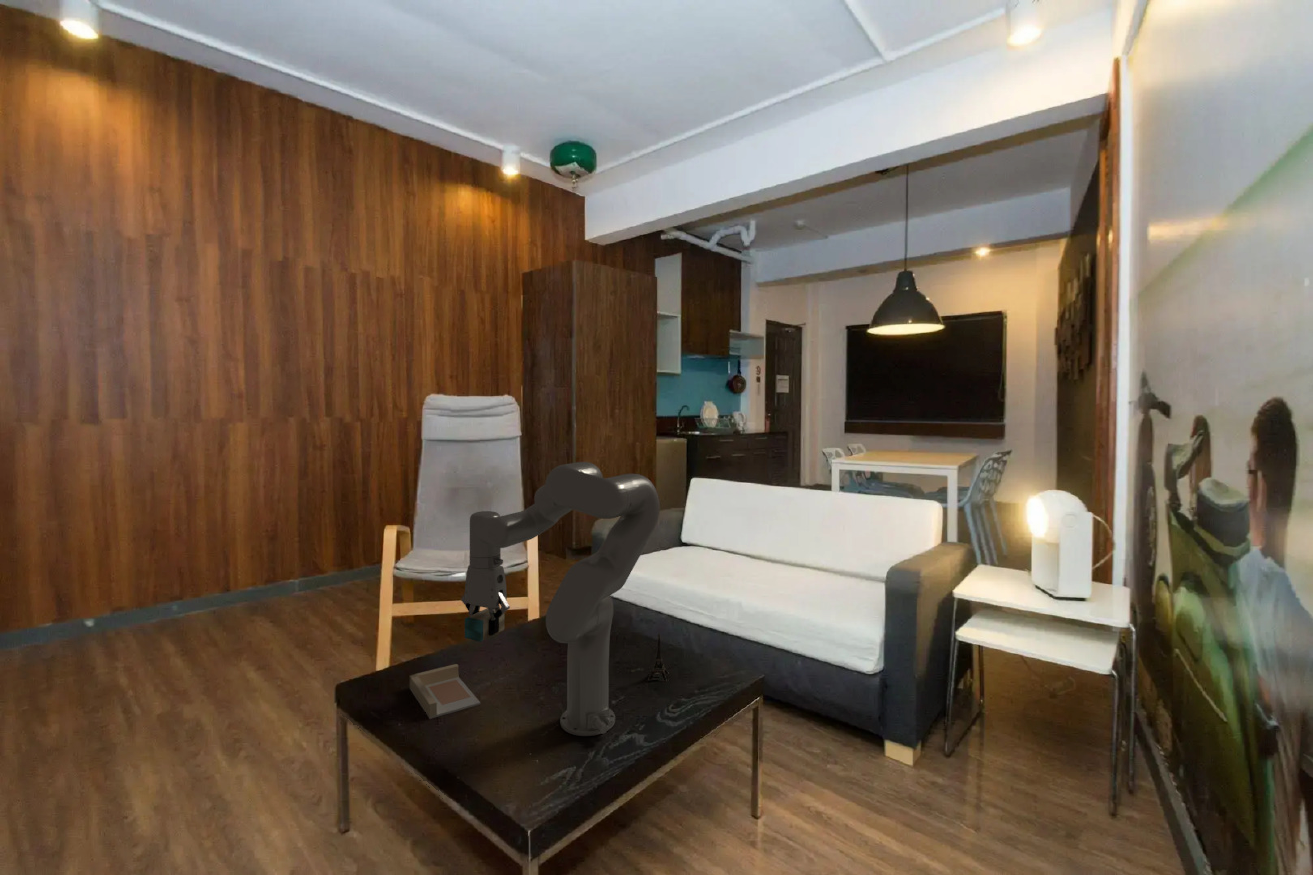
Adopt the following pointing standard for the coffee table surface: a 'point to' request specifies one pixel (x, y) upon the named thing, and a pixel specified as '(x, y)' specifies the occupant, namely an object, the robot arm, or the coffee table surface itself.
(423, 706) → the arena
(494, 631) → the robot arm
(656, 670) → the eiffel tower figurine
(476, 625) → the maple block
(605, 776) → the coffee table surface
